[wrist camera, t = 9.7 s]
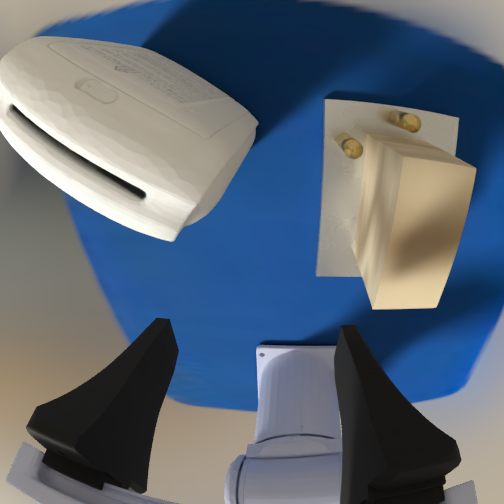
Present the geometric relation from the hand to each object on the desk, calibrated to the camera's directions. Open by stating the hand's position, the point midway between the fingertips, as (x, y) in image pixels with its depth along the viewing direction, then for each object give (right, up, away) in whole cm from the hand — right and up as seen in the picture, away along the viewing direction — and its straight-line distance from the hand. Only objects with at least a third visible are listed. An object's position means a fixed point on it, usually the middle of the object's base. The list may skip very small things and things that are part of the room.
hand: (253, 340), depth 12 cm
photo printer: (-4, +13, +5) cm, 14 cm away
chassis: (+9, +7, +6) cm, 13 cm away
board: (+9, +7, +5) cm, 13 cm away
